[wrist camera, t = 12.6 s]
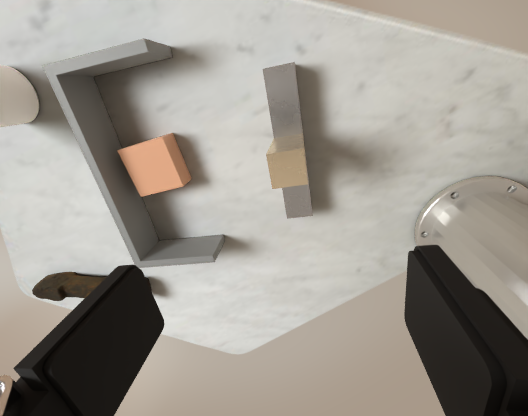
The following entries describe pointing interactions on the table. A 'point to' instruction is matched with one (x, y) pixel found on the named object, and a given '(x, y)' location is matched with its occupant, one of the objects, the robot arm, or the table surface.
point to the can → (16, 98)
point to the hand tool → (67, 286)
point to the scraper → (287, 140)
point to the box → (108, 159)
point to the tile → (155, 165)
